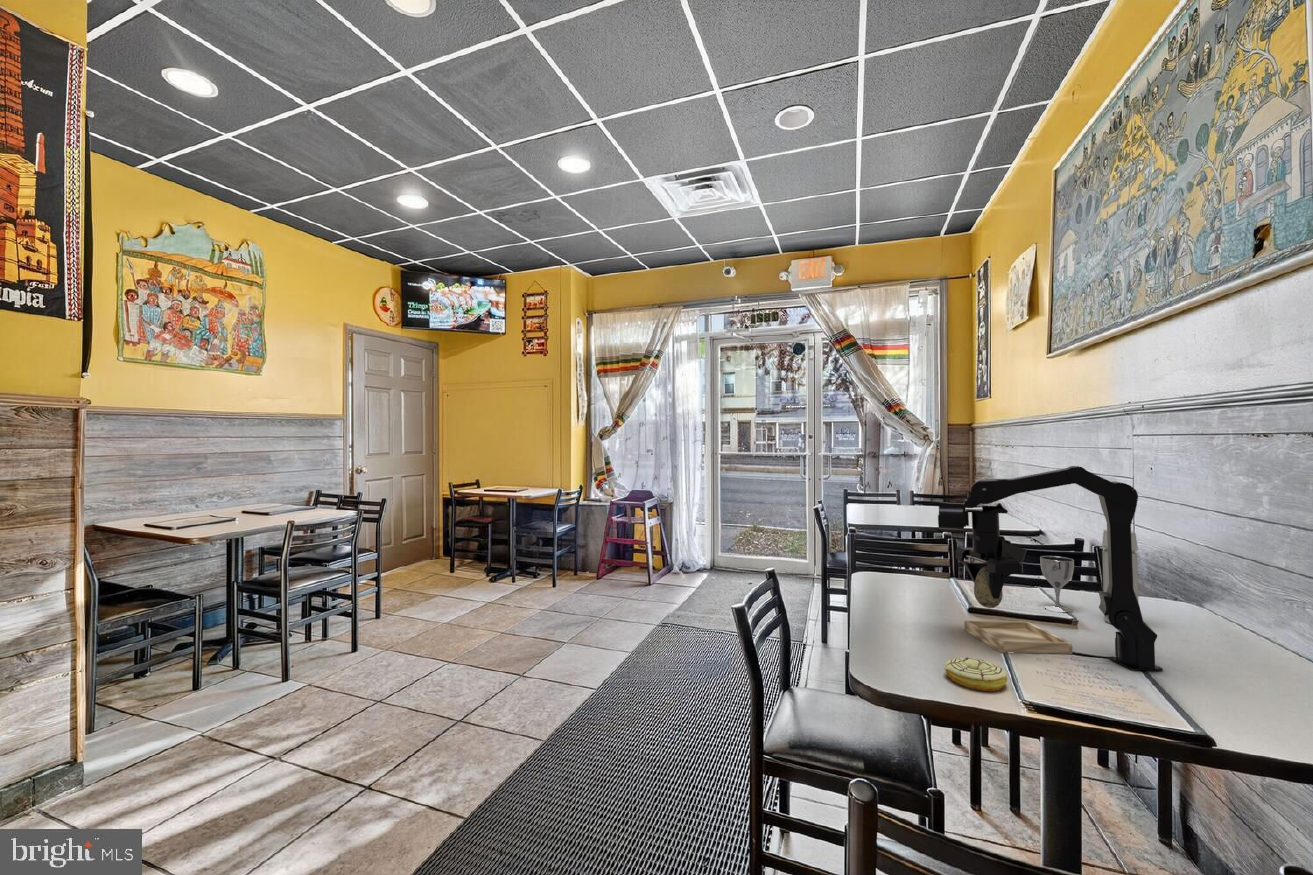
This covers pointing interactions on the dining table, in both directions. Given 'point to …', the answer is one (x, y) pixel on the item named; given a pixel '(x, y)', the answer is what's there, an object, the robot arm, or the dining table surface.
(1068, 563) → the wine glass
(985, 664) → the decorated donut
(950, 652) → the dining table surface
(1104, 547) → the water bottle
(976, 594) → the decorative egg
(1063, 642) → the wooden tray
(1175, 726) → the dining table surface
